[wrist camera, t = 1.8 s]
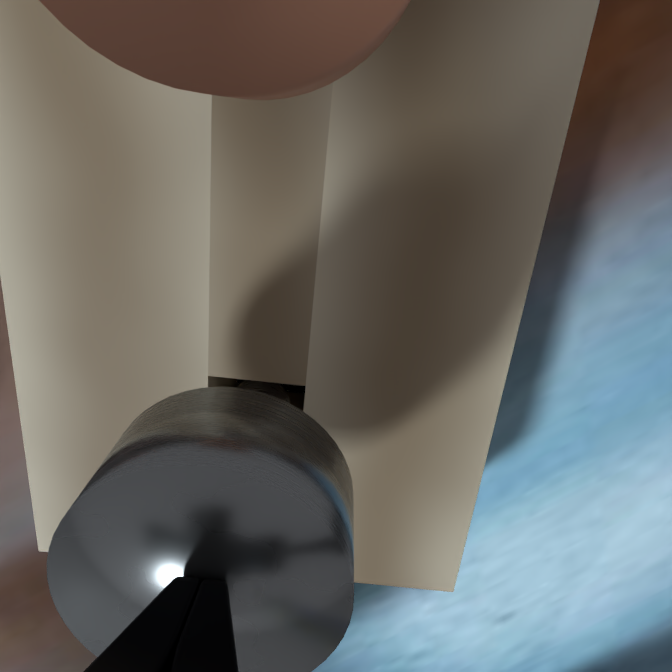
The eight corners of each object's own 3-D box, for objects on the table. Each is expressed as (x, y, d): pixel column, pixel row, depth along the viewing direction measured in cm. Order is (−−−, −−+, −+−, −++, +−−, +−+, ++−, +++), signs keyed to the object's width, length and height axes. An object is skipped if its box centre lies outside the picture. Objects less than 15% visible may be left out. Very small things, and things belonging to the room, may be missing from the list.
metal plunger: (363, 327, 14) (372, 484, 8) (342, 487, 16) (337, 709, 10) (167, 307, 14) (29, 449, 8) (170, 470, 16) (61, 683, 10)
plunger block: (589, -237, 12) (697, -396, 8) (434, 501, 19) (453, 591, 16) (38, -303, 12) (-107, -494, 8) (98, 467, 19) (38, 551, 16)
